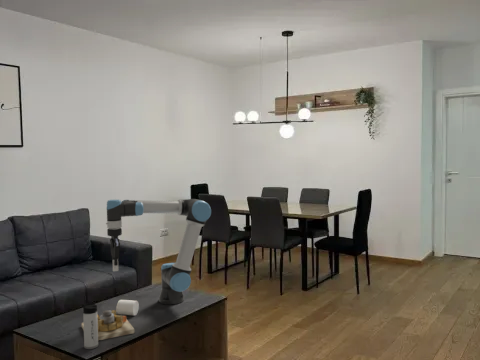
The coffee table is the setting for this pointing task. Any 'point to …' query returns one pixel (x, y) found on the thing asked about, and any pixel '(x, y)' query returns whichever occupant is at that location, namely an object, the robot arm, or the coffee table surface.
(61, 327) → the coffee table surface
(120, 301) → the mug
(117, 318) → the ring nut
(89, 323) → the travel mug
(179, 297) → the robot arm
